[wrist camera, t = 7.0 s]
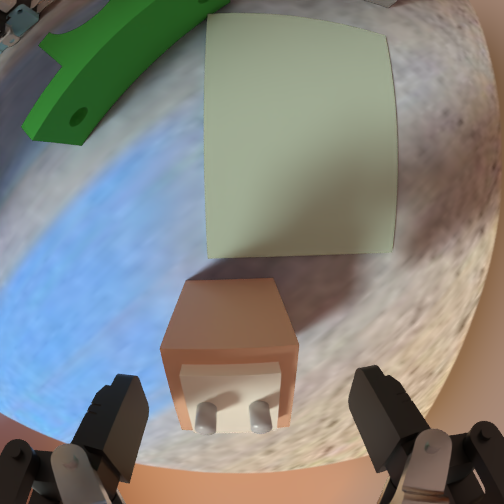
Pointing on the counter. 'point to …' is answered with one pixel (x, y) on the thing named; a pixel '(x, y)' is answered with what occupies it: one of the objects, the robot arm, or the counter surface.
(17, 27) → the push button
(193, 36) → the counter surface
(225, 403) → the block
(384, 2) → the box
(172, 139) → the counter surface
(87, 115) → the pipe clamp
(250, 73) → the pad
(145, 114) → the counter surface
